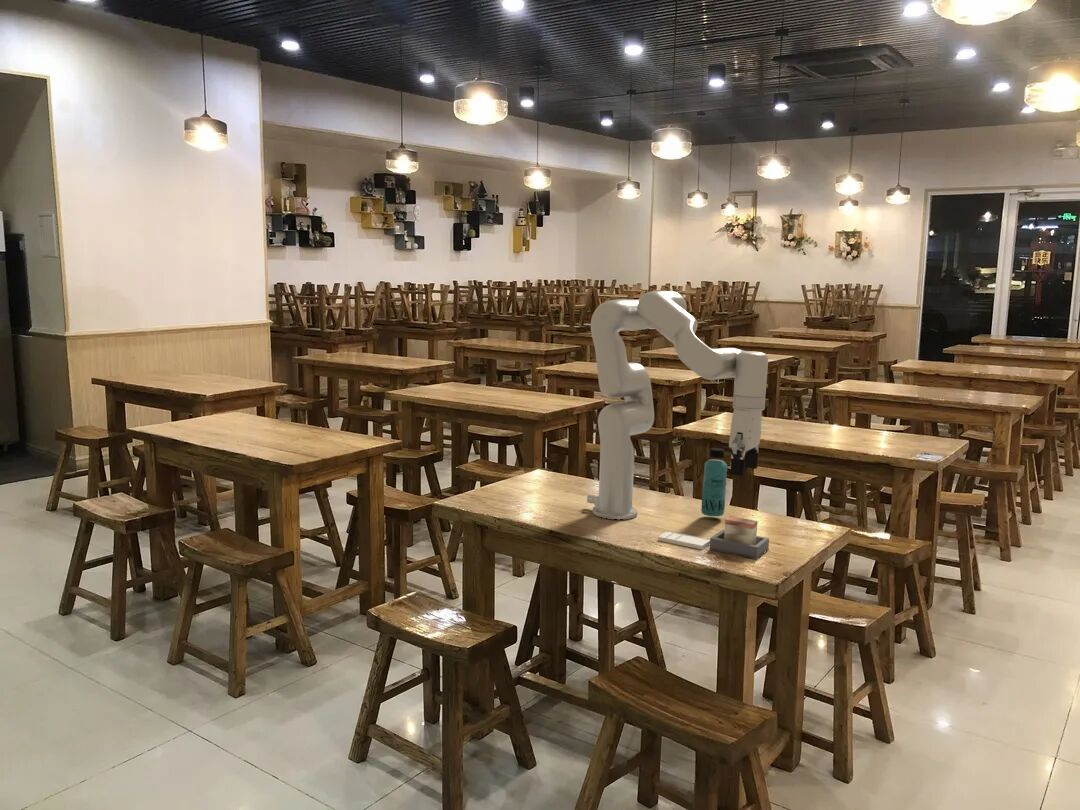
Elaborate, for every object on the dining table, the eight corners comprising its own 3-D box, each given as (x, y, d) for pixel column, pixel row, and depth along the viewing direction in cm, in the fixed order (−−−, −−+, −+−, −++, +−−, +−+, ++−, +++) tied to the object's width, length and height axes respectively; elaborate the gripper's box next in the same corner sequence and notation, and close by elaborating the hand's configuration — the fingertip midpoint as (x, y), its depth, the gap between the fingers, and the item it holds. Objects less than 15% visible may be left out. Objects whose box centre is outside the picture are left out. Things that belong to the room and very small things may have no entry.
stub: (723, 546, 213) (725, 519, 212) (728, 542, 216) (730, 516, 215) (750, 552, 209) (752, 524, 208) (755, 548, 212) (757, 521, 211)
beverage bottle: (696, 516, 241) (700, 446, 238) (716, 514, 243) (720, 445, 240) (708, 522, 235) (712, 451, 232) (729, 520, 237) (733, 450, 234)
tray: (709, 549, 212) (710, 538, 212) (722, 540, 220) (723, 529, 219) (756, 559, 206) (757, 547, 205) (768, 549, 213) (769, 538, 213)
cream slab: (657, 540, 218) (658, 536, 218) (667, 534, 223) (667, 530, 223) (702, 549, 212) (702, 545, 212) (711, 543, 217) (711, 539, 217)
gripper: (745, 396, 216) (741, 462, 219) (721, 405, 202) (716, 475, 204) (775, 400, 212) (769, 467, 215) (752, 408, 198) (746, 480, 200)
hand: (743, 471), depth 210 cm, fingers open, 9 cm apart
